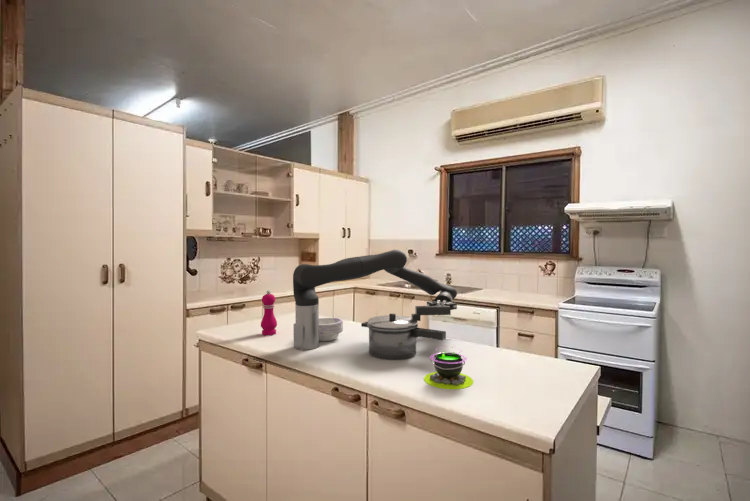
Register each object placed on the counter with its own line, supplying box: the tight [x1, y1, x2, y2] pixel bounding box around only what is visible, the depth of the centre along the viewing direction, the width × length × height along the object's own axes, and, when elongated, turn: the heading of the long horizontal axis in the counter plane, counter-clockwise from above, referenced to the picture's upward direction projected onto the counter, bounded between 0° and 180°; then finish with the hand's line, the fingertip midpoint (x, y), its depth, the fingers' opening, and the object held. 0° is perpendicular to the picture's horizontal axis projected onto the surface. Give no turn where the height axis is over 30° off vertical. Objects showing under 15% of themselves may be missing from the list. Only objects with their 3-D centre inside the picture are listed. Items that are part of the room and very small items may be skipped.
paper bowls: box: [319, 317, 344, 342], centre depth 170 cm, size 15×15×8 cm
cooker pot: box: [360, 321, 447, 361], centre depth 147 cm, size 34×19×11 cm, turn 58°
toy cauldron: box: [423, 342, 474, 390], centre depth 120 cm, size 15×15×11 cm
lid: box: [367, 305, 452, 329], centre depth 149 cm, size 31×19×6 cm, turn 93°
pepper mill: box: [260, 290, 278, 336], centre depth 178 cm, size 7×7×20 cm
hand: (439, 309), depth 153 cm, fingers closed
